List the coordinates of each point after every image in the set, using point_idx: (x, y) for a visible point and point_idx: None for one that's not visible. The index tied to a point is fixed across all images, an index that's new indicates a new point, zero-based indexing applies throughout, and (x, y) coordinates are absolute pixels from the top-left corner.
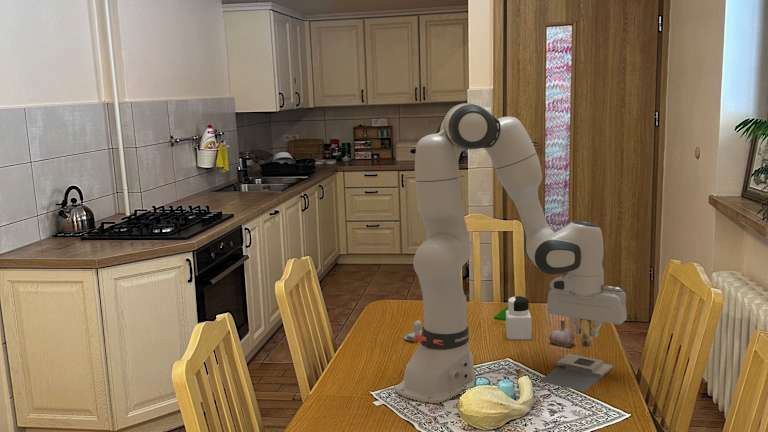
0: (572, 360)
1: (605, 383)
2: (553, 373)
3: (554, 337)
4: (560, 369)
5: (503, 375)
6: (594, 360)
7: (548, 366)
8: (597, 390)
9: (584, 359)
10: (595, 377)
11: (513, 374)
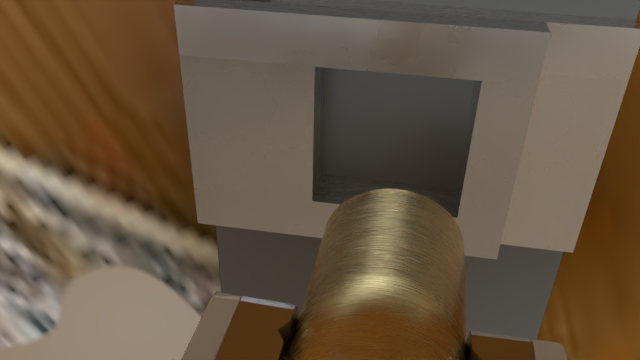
0: (285, 153)
1: (591, 202)
2: (244, 287)
3: None
4: None
5: (15, 308)
6: (464, 66)
7: (114, 87)
8: (555, 311)
9: (363, 66)
10: (525, 252)
11: (42, 281)
